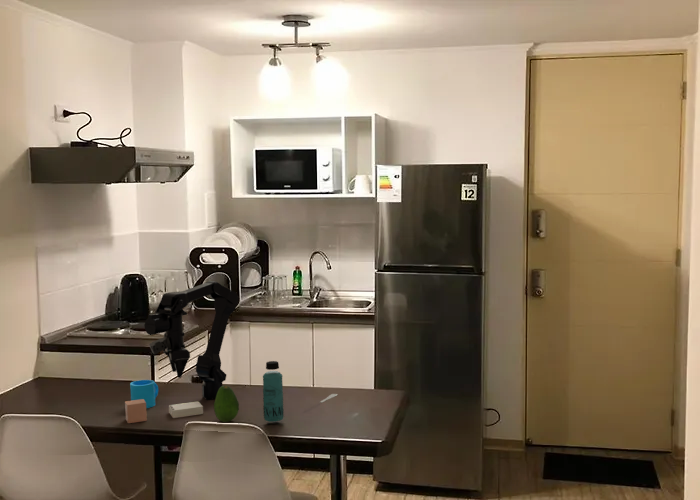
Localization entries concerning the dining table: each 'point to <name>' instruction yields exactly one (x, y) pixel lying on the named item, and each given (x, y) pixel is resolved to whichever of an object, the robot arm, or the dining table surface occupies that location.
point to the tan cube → (135, 411)
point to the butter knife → (329, 397)
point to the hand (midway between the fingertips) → (176, 374)
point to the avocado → (226, 404)
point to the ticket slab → (185, 409)
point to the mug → (144, 391)
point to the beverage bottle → (272, 393)
